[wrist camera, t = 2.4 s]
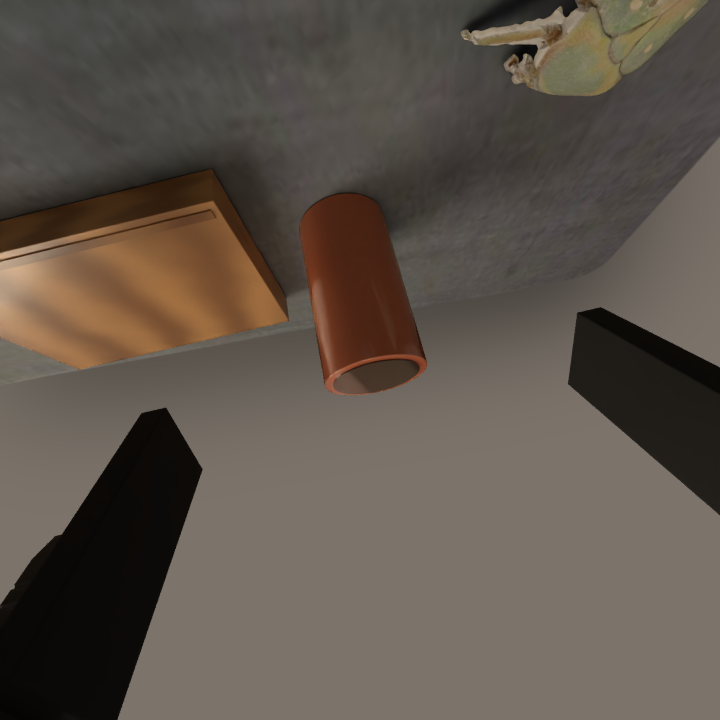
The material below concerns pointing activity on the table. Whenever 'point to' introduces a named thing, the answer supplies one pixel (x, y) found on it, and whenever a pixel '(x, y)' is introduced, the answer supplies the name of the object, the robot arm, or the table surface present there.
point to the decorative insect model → (589, 43)
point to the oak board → (133, 274)
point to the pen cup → (358, 298)
